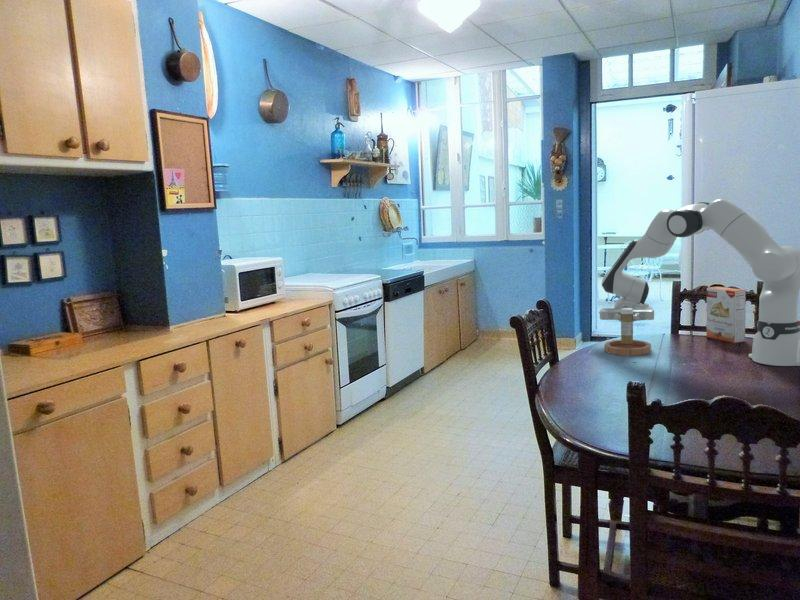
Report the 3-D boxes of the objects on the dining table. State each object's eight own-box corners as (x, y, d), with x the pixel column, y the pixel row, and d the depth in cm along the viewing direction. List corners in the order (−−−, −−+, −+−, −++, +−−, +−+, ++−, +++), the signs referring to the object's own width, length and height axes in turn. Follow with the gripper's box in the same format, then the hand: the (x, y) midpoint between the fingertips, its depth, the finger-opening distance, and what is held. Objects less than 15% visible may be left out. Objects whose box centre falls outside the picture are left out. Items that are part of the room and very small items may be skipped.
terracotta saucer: (624, 344, 244) (624, 338, 244) (660, 350, 230) (660, 344, 230) (596, 350, 236) (595, 344, 235) (631, 357, 222) (631, 351, 221)
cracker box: (705, 337, 246) (705, 287, 243) (717, 336, 248) (717, 285, 245) (733, 343, 233) (734, 290, 230) (745, 342, 234) (746, 289, 232)
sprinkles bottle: (625, 341, 236) (625, 307, 234) (635, 342, 232) (635, 308, 230) (618, 342, 233) (617, 308, 232) (628, 344, 229) (628, 309, 228)
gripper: (598, 304, 246) (598, 309, 233) (652, 303, 239) (655, 309, 227) (599, 319, 247) (598, 325, 234) (652, 319, 240) (655, 325, 227)
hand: (627, 317), depth 230 cm, fingers closed on sprinkles bottle, 4 cm apart
